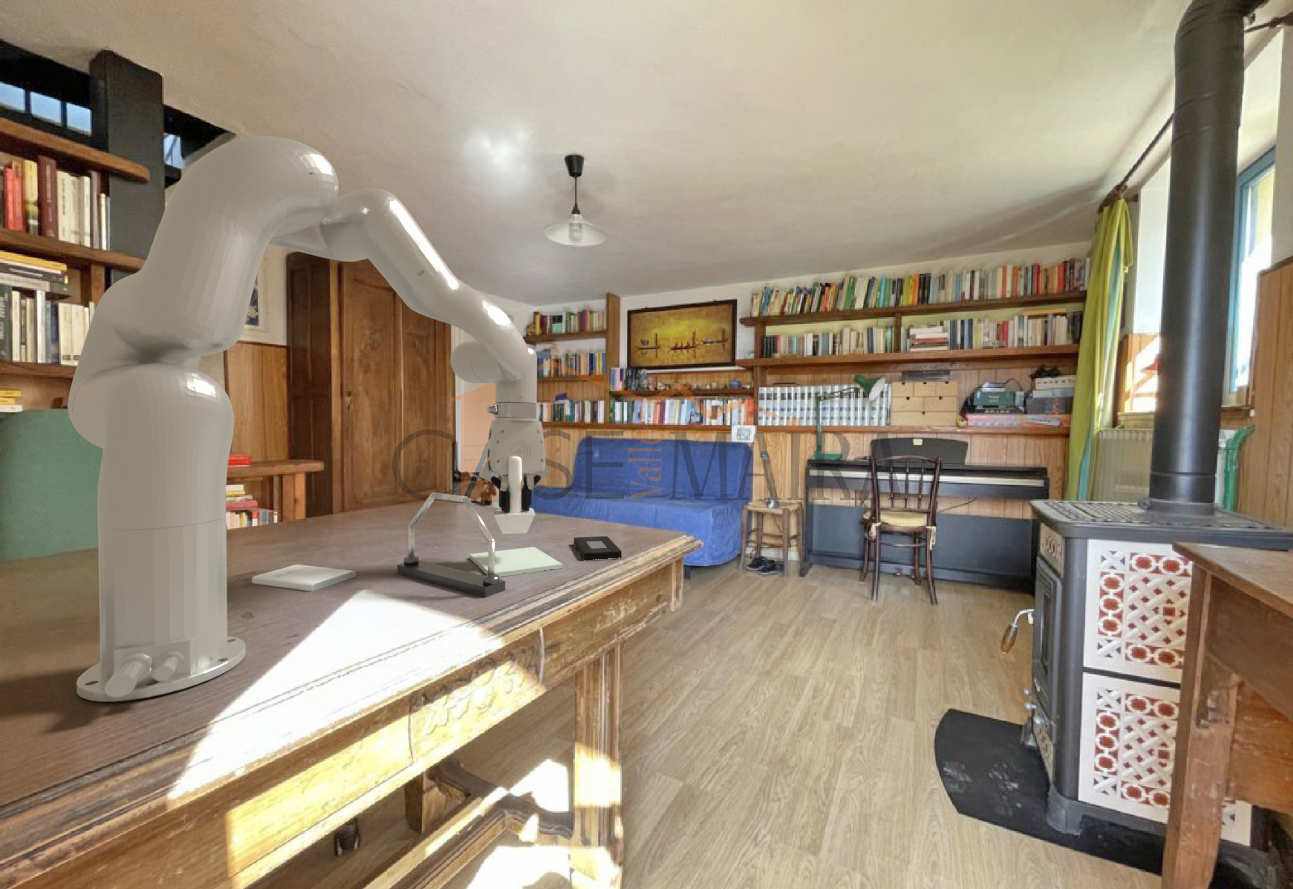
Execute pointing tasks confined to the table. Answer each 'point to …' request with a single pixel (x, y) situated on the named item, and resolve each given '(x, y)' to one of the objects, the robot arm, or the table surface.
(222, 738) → the table surface
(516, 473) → the figurine
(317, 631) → the table surface
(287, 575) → the external hard drive
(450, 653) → the table surface
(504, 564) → the mat
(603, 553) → the vhs tape
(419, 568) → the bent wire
